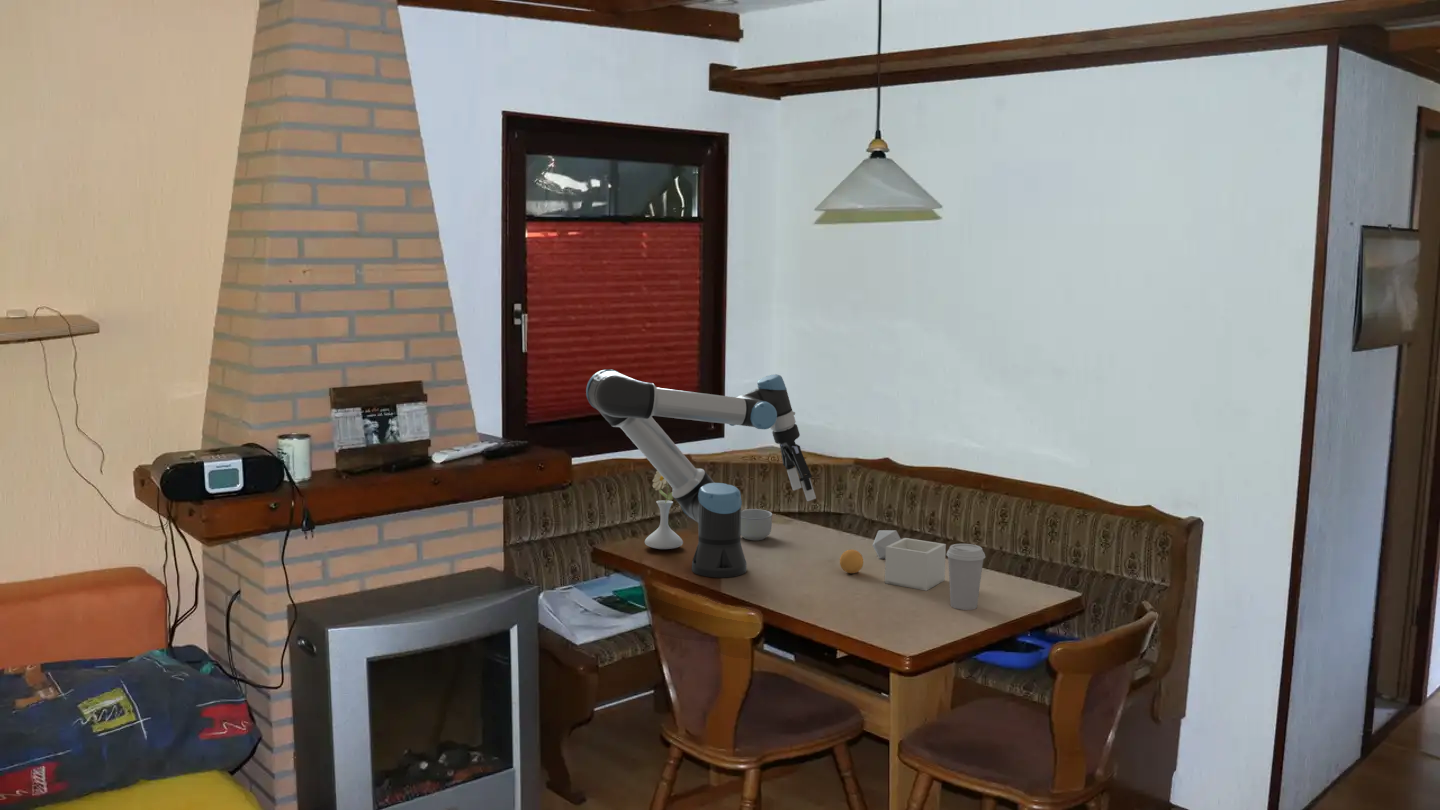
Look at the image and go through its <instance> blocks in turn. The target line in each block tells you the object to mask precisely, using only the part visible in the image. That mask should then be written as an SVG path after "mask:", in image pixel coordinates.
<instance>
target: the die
mask: <svg viewBox="0 0 1440 810" xmlns="http://www.w3.org/2000/svg"><path fill="white" fill-rule="evenodd" d="M875 535H876V536H875V538H874V540H873V543H872V547H873V549H874V551H875V553H876V554H877V556H878V558H879V560H880V559H883V560H885V558H886V546H888V545H891V544H893V543H895V542H897V541H899V540H901V539H902V538H901V537H900V535H899V533H898V531H897V530H893V529H892V530H891V529H888V530H886V529H885V530H884V529H883V530H882V529H881V530H879V529H878V531H877V533H876V534H875Z"/></svg>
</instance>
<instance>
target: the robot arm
mask: <svg viewBox="0 0 1440 810" xmlns="http://www.w3.org/2000/svg"><path fill="white" fill-rule="evenodd" d="M756 387H757V388H755V389H753V390H751V391H747V392H745V393H742V394H739V395H737V396H727V395H721V394H720V395H719V394H712V393H711V394H710V393H703V392H694V391H686V390H680V389H679V390H678V389H672V388H671V389H670V388H662V387H657V386H656V385H655V384H654V383H653V382H645V381H641V380H637V379H635V378H632V377H629V376H627V375H626V374H623V373H620V372H619V371H617V370H614V369H602V370H599V371H597V372H595V373H594V374H593V375H592V376H591V377H590V378H589V380H588V381H587V385H586V389H585V392H586V393H585V396H586V399H587V401H588V403H589V404H590V406H591V407H592V408H593V409H596V410H597V411H598V412H599V413H600V414H601V416H602V417H603V418H604V419H605V421H607V423H608V424H609V425H610V426H611V427H613V428H620V429H621V430H622V431H623V432H624V434H625V435H626V437H628V438H629V439H630V441H631V442H632V444H634V445H635V446H636V447H637V449H638V450H639V451H640V452H641V453H642V455H643V456H644V457H645V458H646V460H648V461H649V463H650V464H651V465H652V466H653V467H654V468H655V470H656V472H657V471H658V472H659V473H660V474H661V475H662V476H663V478H664V479H665V480H666V481H667V482H668V486H669V487H671V488H672V491H671V492H672V496H673V499H674V500H675V501H676V502H677V503H678V505H679V506H680V509H682V511H683V513H684V514H685V515H686V516H687V517H689V518H690V519H692V520H694V521H695V522H697V524H698V530H697V531H698V536H697V537H698V540H697V541H698V542H697V546H696V549H695V551H694V555H693V558H692V561H691V572H692V573H694V574H696V575H698V576H702V577H708V578H731V577H732V578H733V577H737V576H742V575H743V574H746V572H747V571H748V569H747V567H748V566H747V565H748V563H747V560H746V557H745V553H744V550H743V547H742V542H741V511H742V502H743V501H742V496H741V490H740V489H739V488H737V487H736V486H735V485H733V484H728V483H725V482H724V483H723V482H715V481H714V480H713V479H712V478H711V476H710V475H709V474H708V473H707V471H705V470H704V468H696V467H695V465H694V464H692V462H691V461H690V460H689V459H688V458H687V456H686V455H685V454H684V453H683V452H682V451H681V449H680V448H679V447H678V446H677V445H676V444H675V442H674V441H673V440H672V439H671V438H670V436H669V435H668V434H667V433H666V432H665V430H664V429H663V428H662V427H661V426H660V425H659V423H658V422H656V420H655V419H654V418H653V416H654V417H663V418H669V419H670V418H672V419H673V418H674V419H681V420H692V421H699V422H708V423H717V424H725V425H729V426H731V427H734V426H743V427H748V428H749V427H750V428H752V427H753V428H755V429H756V430H768V429H770V430H771V431H772V432H771V433H772V437H773V439H774V440H773V441H774V443H776V444H777V445H779V447H780V453H781V459H782V461H781V462H782V465H783V467H785V469H786V472H787V475H788V479H789V482H790V486H791V489H792V491H797V490H799V489H802V491H803V493H804V496H805V500H806V502H810V501H813V500H816V499H817V497H816V493H815V490H814V487H813V484H812V480H811V479H812V477H813V475H812V474H811V471H810V469H809V466H808V464H807V461H806V459H805V456H804V455H803V452H802V449H801V445H799V444H796V440H797V439H798V438H799V437H800V436H801V435H800V430H799V427H798V425H797V424H796V423H797V421H796V418H795V416H796V412H795V411H793V408H792V404H791V401H790V398H789V394H788V389H787V386H786V384H785V381H784V378H783V377H782V376H781V375H780V374H776V373H775V374H769V375H766V376H763V377H762V378H760V379H759V380H757V386H756Z"/></svg>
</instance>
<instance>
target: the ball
mask: <svg viewBox="0 0 1440 810" xmlns="http://www.w3.org/2000/svg"><path fill="white" fill-rule="evenodd" d="M839 565H840V567H841V570H843V571H844V572H846V573H847V574H856V573H858V572H859V571H861V570H862V568H863V566H864V557H863V555H862V554H861V553H860V552H859V551H858V550H856V549H848V550H845V551H843V552H842V554H841V556H840V558H839Z"/></svg>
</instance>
